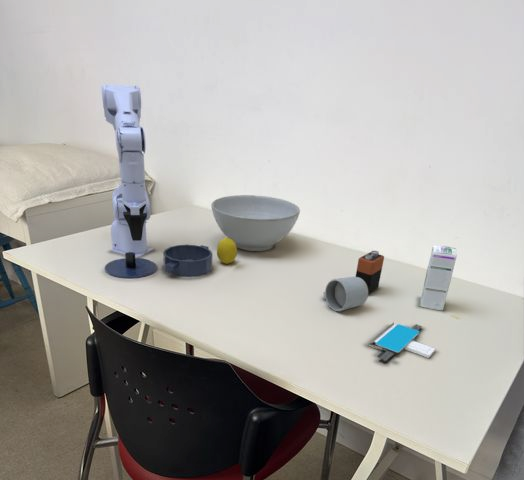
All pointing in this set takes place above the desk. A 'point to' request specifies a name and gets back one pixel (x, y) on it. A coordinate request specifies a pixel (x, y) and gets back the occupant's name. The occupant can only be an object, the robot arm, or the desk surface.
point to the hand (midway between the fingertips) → (136, 235)
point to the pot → (182, 268)
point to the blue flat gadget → (399, 342)
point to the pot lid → (130, 267)
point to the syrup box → (438, 277)
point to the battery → (370, 269)
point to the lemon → (226, 250)
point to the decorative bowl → (254, 220)
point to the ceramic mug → (346, 293)
